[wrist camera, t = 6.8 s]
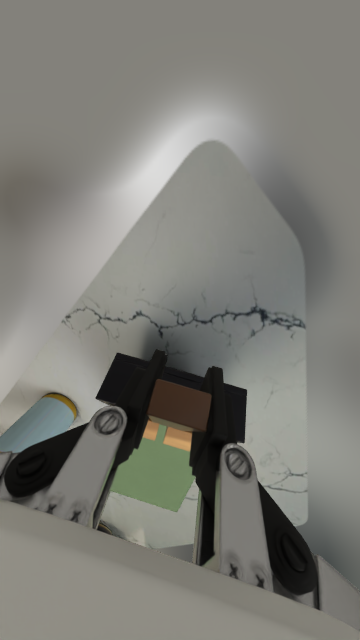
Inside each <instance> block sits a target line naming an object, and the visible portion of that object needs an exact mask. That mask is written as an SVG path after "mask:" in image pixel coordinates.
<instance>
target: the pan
mask: <svg viewBox="0 0 360 640" xmlns="http://www.w3.org/2000/svg"><path fill="white" fill-rule="evenodd" d="M149 363H150V362H149V361H145V360H142V359H138V358H135V357H131V356H128V355H124V354H121V353H117V354H116V356H115V359H114V360H113V362H112V365H111V367H110V369H109V371H108V373H107V375H106V377H105V379H104V381H103V383H102V385H101V388H100V390H99V392H98V394H97V396H96V399H97V400H99V401H102V402H104V403H106V404H108V405H110V406H114V404H115V403H116V401H117V399H118V397H119V396H120V394H121V392H122V391H123V389H124V387H125V386H126V384H127V382H128V380H129V379H130V377H131V375H132V374H133V372H134V370H135V369H136V367H139V368H143V369H147V367H148V365H149ZM203 380H204V377H201V376H198V375H194V374H191V373H187V372H184V371H180V370H177V369H173V368H170V367H166V366H165V368H164V372H163V376H162V380H161V379H157V380H156V383H155V386H154V389H153V392H152V396H151V399H150V402H149V406H148V409H147V412H146V414H147V415H148V417H149V418H150V419H151V421H152V422H154V423H157V424H161V425H164V426H167V427H171V428H174V429H177V430H180V431H195V432H206V430H207V424H208V417H209V410H210V403H211V397H212V396H211V394H209V393H205V392H202V391H199V390H200V388H201V385H202V383H203ZM224 393H225V394H228V395H231V398H232V405H233V413H234V422H235V430H236V438H237V442H239V443H244V442H245V422H246V401H247V390H246V389H243V388H239V387H236V386H232V385H229V384H225V383H224Z"/></svg>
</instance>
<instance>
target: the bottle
mask: <svg viewBox="0 0 360 640" xmlns="http://www.w3.org/2000/svg"><path fill="white" fill-rule="evenodd" d="M75 418H76V407H75V405H74V404H73V403H72V402H71V401H70V400H69V399H68V398H66V397H64V396H62V395H59V394H49V395H45V396H43V397H42V398H41V399H40V400H39V401H38V402H37V403H35V404H34V405H33V406H32V407H31V408H30V409H29V410H28V411H27V412H26V413H25V414H24V415H23V416H22V417H21V418H20V419H18V420H17V421H16V422H15V423H14V424H13V425H12V426H11V427H10V428H9V429H8V430H7V431H6V432H5V433H4V434H3V435H1V436H0V452H7V451H12V453H18V452H21V451H23V450H24V449H26V448H28V447H30V446H32V445H34V444H36V443H39V442H41V441H44V440H46V439H49V438H51V437H54V436H56V435H59V434H61V433H64V432H66V431H67V429H68V428H69V427H70V425H71V424H72V423H73V421H74V420H75Z"/></svg>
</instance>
